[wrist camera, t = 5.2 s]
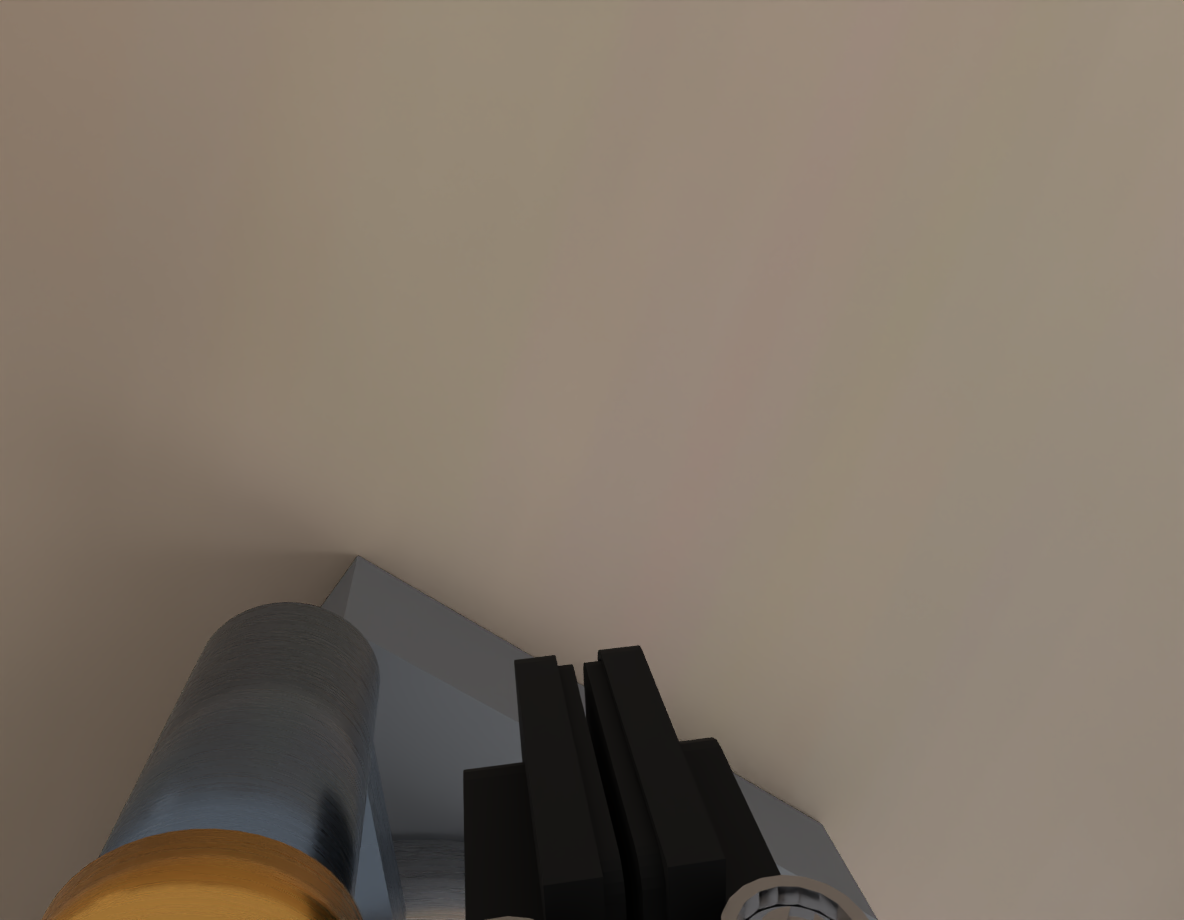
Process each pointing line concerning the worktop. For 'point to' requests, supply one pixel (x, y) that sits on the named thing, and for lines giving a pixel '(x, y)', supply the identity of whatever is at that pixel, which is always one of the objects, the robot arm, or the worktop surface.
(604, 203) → the worktop surface
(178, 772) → the gold-rimmed tube plate
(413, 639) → the grey rectangular base plate
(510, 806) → the robot arm
